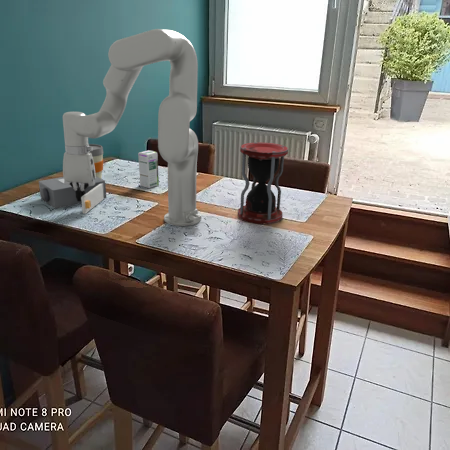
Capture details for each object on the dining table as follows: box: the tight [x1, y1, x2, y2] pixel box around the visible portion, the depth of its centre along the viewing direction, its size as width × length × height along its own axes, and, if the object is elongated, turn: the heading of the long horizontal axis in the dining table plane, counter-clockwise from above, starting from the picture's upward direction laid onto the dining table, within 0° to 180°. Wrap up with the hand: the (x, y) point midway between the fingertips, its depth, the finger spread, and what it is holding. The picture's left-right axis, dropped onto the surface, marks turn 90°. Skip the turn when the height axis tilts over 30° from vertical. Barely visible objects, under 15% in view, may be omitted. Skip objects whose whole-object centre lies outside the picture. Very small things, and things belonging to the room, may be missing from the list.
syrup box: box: [137, 149, 160, 189], centre depth 181 cm, size 6×6×14 cm
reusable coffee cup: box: [88, 143, 104, 179], centre depth 184 cm, size 13×12×15 cm
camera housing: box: [38, 176, 107, 210], centre depth 164 cm, size 14×21×7 cm, turn 132°
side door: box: [81, 183, 105, 214], centre depth 156 cm, size 2×17×6 cm, turn 172°
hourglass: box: [237, 141, 289, 225], centre depth 149 cm, size 16×16×25 cm
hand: (81, 200), depth 153 cm, fingers closed
